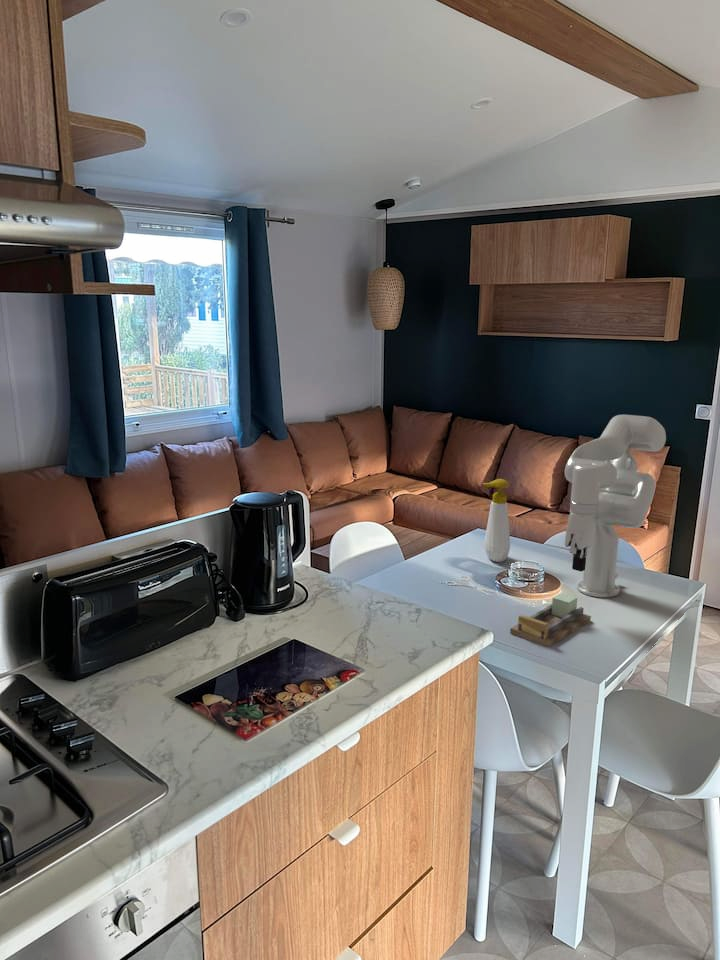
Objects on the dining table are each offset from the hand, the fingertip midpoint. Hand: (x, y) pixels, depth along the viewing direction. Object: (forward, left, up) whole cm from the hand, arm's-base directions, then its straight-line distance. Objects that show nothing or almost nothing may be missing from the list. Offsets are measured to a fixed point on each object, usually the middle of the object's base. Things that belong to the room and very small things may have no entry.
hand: (578, 569), depth 213 cm
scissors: (+4, -33, -14) cm, 36 cm away
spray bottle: (-23, -43, -14) cm, 51 cm away
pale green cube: (+7, 0, -12) cm, 13 cm away
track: (+14, 0, -13) cm, 19 cm away
